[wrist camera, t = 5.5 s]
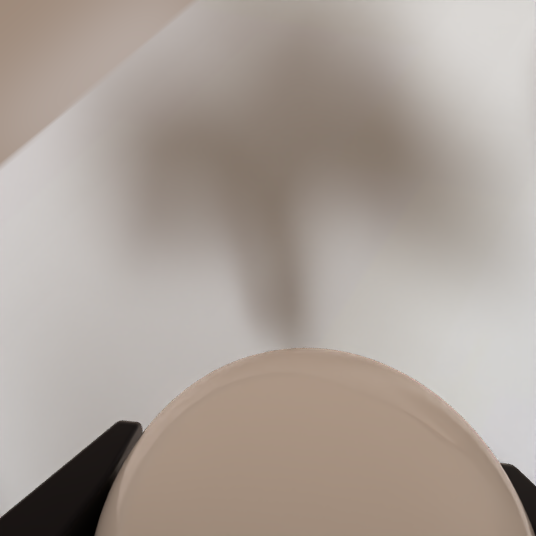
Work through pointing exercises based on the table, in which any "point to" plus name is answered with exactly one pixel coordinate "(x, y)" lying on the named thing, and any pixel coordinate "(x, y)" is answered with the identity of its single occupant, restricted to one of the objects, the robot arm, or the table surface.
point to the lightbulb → (311, 458)
